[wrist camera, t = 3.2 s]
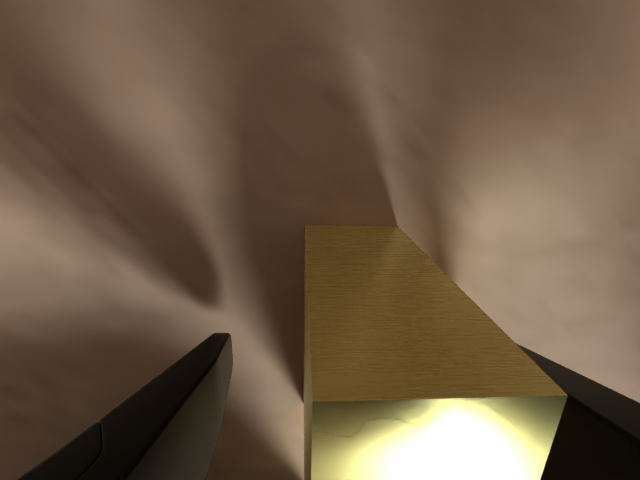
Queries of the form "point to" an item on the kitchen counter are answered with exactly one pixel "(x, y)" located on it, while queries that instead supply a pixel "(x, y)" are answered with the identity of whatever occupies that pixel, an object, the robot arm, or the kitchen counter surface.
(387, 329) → the block
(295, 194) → the kitchen counter surface
